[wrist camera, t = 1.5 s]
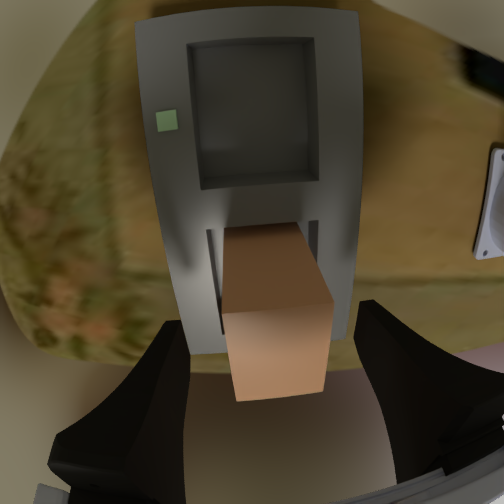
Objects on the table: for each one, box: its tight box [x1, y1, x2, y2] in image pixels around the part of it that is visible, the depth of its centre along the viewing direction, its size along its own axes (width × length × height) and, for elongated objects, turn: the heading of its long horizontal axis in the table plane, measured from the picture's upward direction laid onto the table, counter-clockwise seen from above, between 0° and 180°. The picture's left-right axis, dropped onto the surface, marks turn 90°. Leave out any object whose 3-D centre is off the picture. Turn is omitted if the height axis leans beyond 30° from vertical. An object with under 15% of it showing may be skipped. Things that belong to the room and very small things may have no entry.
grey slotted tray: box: [135, 6, 363, 354], centre depth 15 cm, size 9×17×3 cm, turn 4°
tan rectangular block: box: [222, 222, 335, 401], centre depth 14 cm, size 4×5×7 cm
